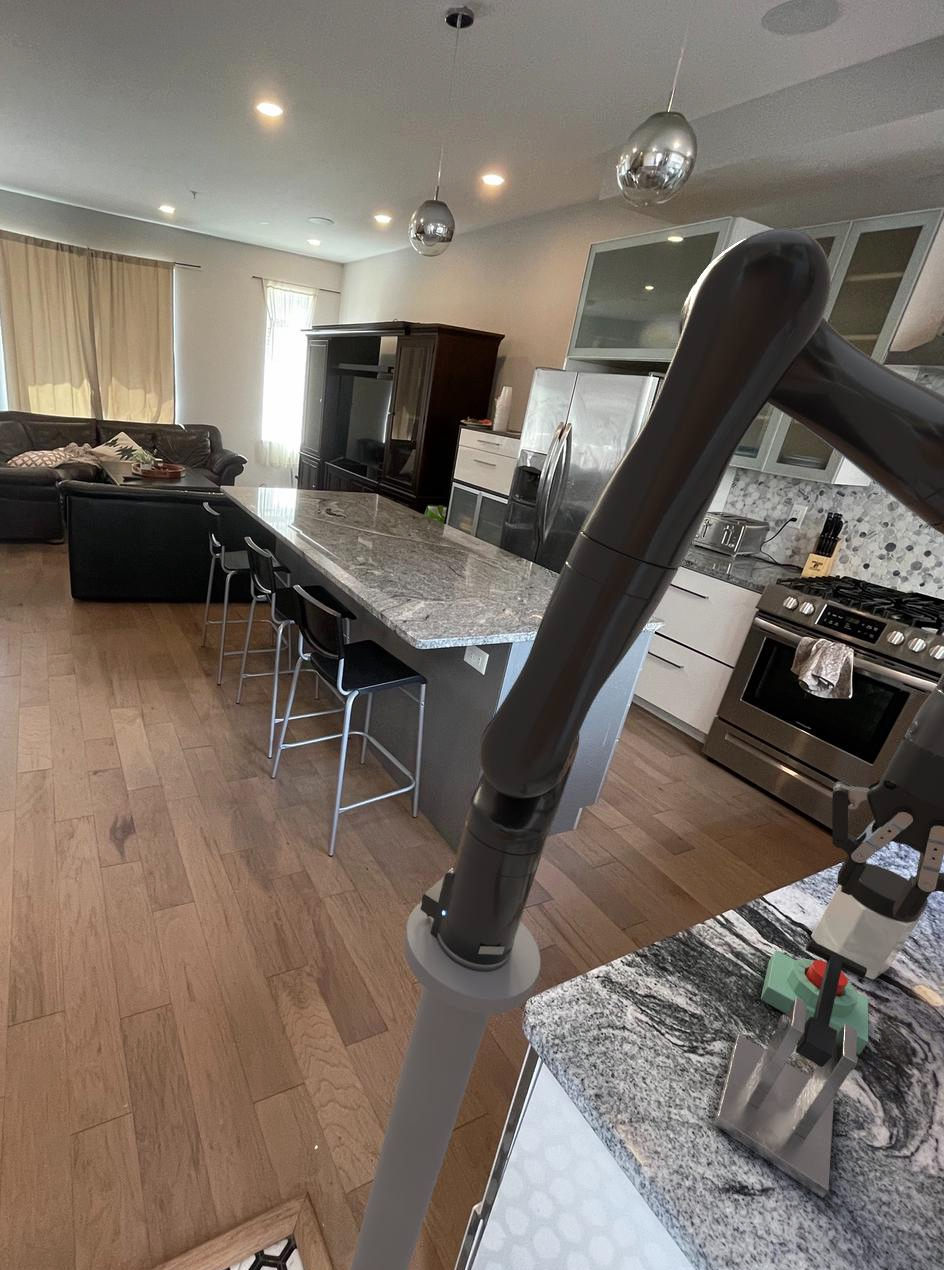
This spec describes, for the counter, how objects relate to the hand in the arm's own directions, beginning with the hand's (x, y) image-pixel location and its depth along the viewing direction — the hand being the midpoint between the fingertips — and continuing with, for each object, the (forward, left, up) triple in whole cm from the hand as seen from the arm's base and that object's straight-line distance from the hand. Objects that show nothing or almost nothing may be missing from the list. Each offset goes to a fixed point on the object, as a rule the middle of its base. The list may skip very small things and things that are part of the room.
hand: (871, 900), depth 61 cm
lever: (0, -4, -11) cm, 12 cm away
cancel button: (+2, +10, -17) cm, 20 cm away
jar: (+6, +25, -21) cm, 33 cm away
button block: (+2, +10, -21) cm, 23 cm away
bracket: (0, -9, -21) cm, 23 cm away
